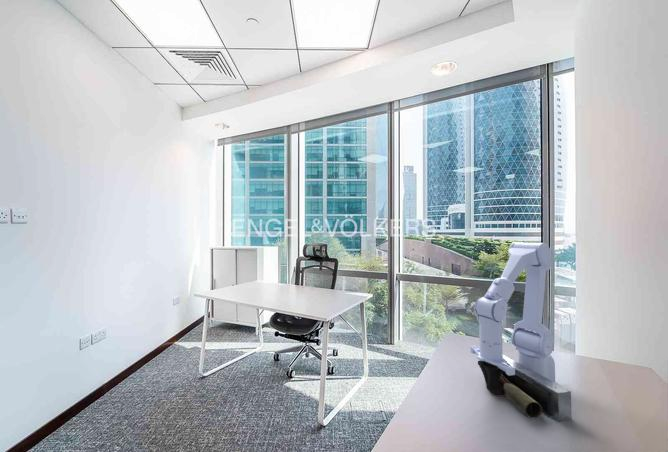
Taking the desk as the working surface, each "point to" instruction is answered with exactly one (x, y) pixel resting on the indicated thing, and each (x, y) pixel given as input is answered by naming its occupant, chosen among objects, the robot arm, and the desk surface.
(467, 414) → the desk surface
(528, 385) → the grey metal tray
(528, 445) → the desk surface
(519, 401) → the corroded crusty cylinder
